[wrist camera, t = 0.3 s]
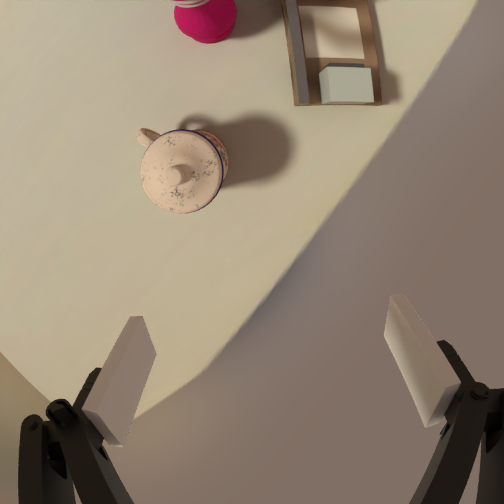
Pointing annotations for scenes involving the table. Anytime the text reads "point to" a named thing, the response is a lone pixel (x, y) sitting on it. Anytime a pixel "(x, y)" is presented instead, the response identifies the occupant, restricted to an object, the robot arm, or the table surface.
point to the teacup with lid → (182, 168)
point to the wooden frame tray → (335, 41)
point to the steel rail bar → (296, 52)
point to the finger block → (346, 84)
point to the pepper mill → (205, 18)
